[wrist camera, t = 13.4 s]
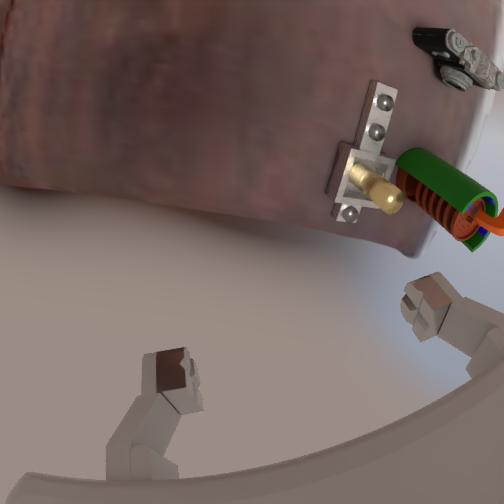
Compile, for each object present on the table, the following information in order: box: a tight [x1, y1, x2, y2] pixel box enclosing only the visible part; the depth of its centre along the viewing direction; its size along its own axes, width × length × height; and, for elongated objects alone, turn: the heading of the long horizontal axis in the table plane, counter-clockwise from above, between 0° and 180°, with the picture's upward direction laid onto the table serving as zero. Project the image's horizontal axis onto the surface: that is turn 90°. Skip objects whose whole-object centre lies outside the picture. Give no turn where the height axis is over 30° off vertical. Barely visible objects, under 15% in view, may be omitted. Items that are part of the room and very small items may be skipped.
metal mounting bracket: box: [326, 81, 398, 223], centre depth 39 cm, size 22×8×3 cm, turn 169°
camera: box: [412, 27, 504, 91], centre depth 29 cm, size 15×7×10 cm, turn 75°
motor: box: [396, 148, 504, 252], centre depth 36 cm, size 10×9×20 cm
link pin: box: [349, 163, 404, 214], centre depth 38 cm, size 4×4×9 cm
